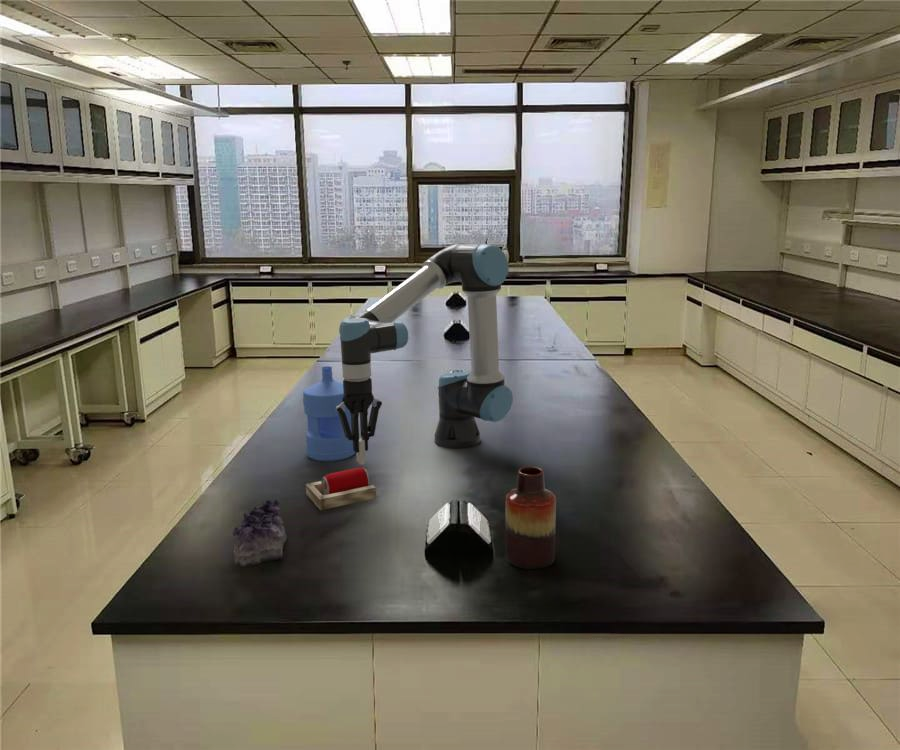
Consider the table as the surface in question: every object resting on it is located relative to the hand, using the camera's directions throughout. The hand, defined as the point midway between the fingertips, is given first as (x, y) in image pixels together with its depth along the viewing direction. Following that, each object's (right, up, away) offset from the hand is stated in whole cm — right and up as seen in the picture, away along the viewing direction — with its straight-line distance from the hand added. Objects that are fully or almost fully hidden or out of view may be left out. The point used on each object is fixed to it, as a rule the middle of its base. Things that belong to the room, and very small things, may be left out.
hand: (361, 462), depth 191 cm
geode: (-19, -16, -29) cm, 38 cm away
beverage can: (+1, -4, +3) cm, 5 cm away
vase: (+42, -17, -36) cm, 58 cm away
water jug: (-13, -1, +33) cm, 35 cm away
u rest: (-5, -9, -1) cm, 10 cm away
